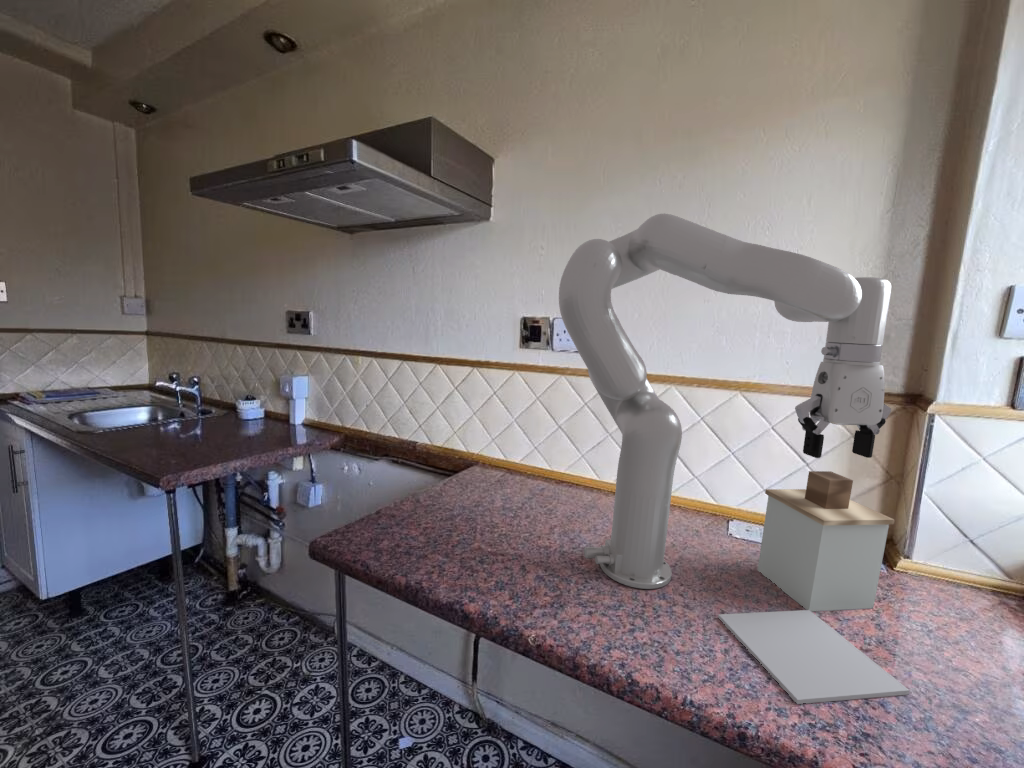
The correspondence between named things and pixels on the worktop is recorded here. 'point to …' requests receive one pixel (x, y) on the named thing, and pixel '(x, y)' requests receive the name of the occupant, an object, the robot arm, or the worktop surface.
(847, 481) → the lid
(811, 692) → the mat
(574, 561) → the worktop surface
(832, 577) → the box
